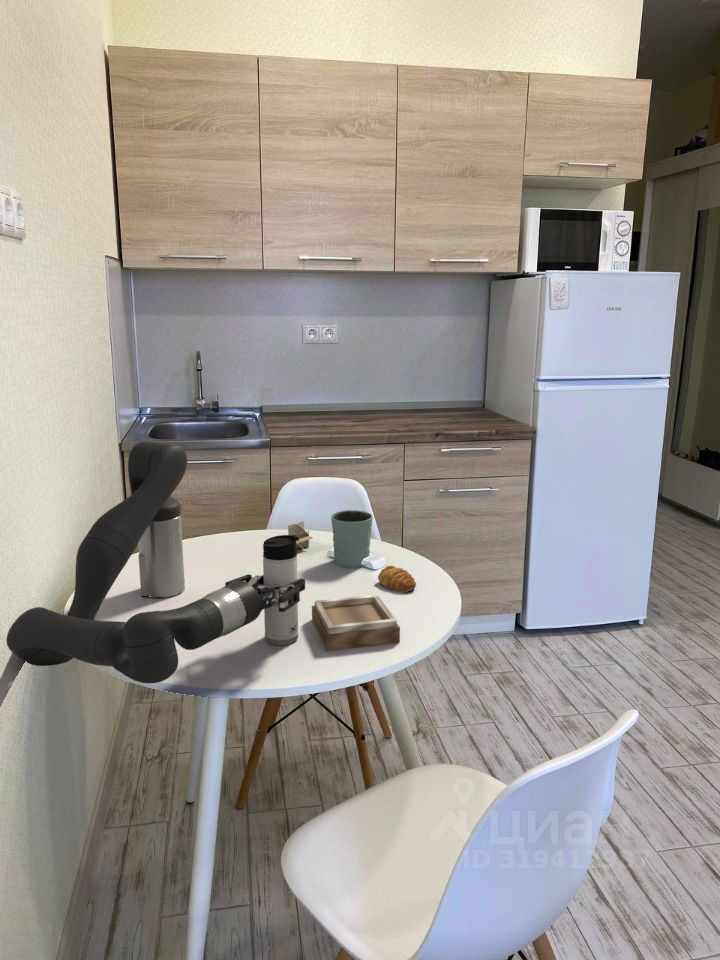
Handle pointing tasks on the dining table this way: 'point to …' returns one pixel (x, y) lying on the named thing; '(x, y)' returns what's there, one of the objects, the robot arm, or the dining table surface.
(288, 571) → the travel mug
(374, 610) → the square wooden tray
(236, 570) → the dining table surface
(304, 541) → the architectural model
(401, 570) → the pastry
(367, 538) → the green cup
